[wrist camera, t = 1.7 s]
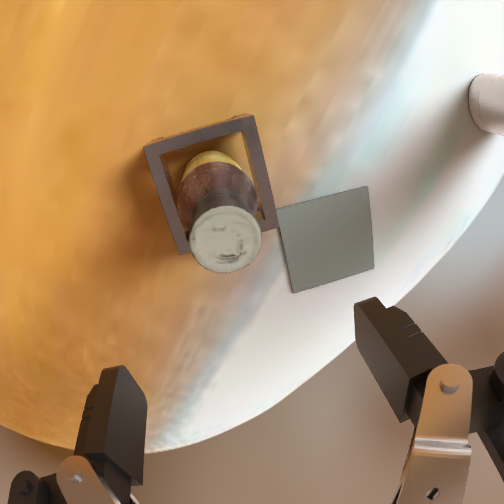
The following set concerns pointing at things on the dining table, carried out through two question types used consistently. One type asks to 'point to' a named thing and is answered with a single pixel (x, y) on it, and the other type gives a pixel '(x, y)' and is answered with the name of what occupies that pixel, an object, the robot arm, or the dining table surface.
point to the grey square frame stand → (162, 145)
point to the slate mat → (327, 238)
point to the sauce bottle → (219, 212)
